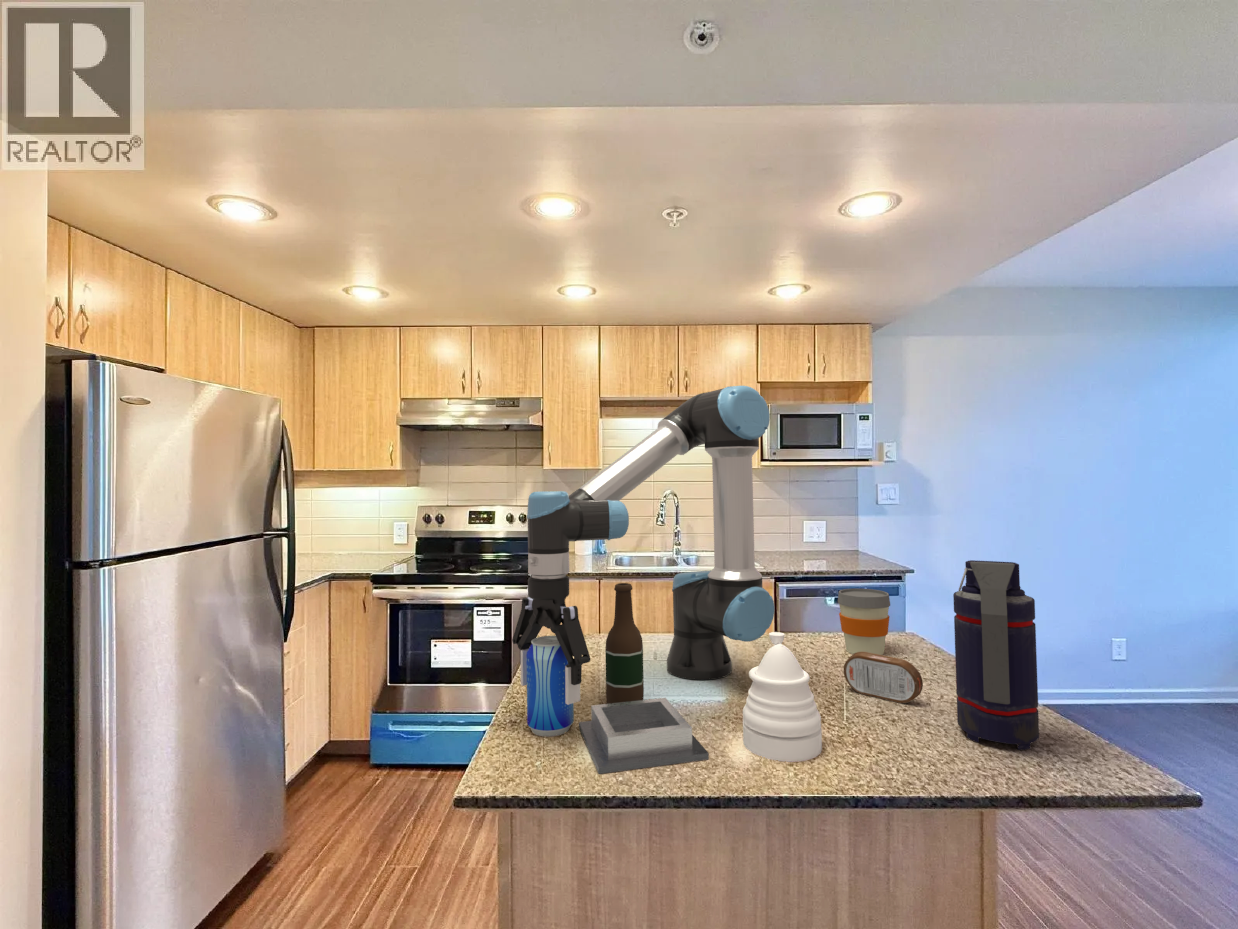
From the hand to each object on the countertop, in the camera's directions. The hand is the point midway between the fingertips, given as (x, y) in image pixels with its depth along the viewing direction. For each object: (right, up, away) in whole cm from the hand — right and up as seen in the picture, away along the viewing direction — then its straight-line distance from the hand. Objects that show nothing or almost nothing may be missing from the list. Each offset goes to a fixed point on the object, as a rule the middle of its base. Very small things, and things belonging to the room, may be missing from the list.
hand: (549, 692), depth 110 cm
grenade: (+77, -5, -7) cm, 78 cm away
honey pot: (+40, -6, -8) cm, 41 cm away
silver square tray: (+16, -6, -7) cm, 18 cm away
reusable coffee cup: (+76, -7, +45) cm, 88 cm away
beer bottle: (+14, -7, +11) cm, 19 cm away
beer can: (0, -7, 0) cm, 7 cm away
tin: (+66, -6, +13) cm, 68 cm away
